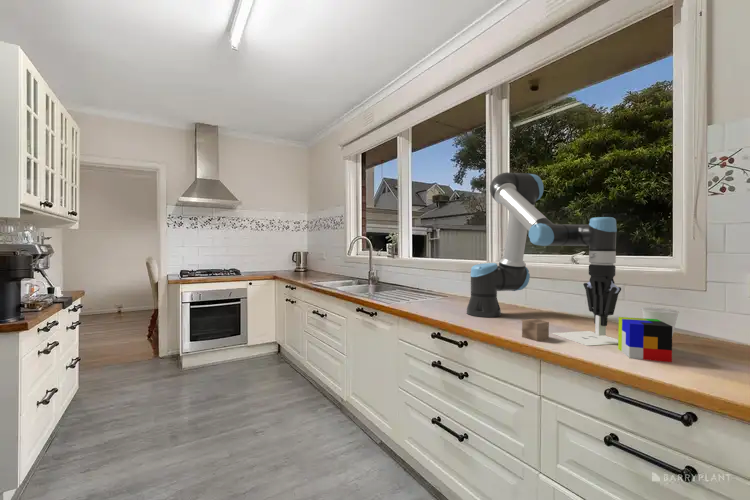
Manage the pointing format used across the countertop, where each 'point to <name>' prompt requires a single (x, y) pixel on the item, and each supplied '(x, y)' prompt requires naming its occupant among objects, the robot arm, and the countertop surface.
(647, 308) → the cup
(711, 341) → the countertop surface
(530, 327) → the walnut block
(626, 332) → the puzzle toy
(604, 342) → the mat
